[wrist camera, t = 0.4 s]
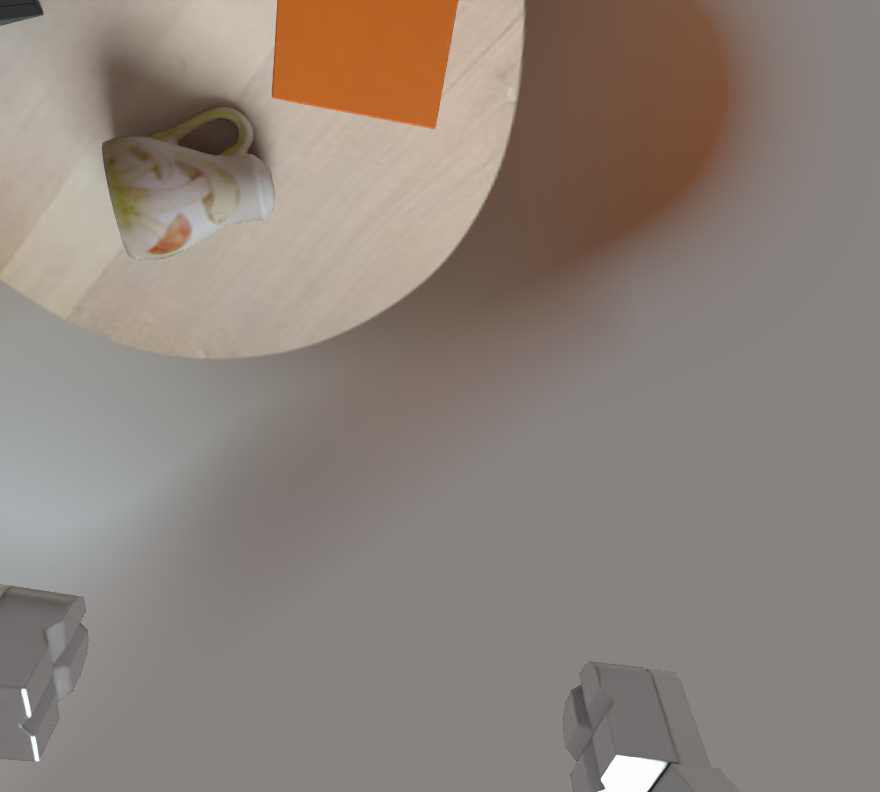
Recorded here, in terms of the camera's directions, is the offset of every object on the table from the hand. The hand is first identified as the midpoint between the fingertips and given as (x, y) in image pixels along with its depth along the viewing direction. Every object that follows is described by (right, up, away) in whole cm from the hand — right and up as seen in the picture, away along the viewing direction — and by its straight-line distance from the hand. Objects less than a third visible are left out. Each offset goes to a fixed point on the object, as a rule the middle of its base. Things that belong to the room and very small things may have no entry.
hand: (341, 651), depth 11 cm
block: (-2, +27, +29) cm, 39 cm away
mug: (-14, +18, +33) cm, 40 cm away
